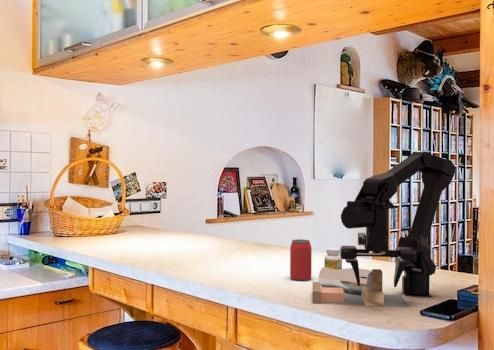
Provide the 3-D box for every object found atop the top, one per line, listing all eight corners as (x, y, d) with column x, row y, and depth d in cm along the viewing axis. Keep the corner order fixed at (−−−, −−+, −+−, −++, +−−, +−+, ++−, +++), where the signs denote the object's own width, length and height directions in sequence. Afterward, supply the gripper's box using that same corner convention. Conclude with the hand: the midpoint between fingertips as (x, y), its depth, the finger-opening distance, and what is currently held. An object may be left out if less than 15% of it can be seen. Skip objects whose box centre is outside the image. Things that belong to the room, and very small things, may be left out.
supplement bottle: (345, 280, 164) (345, 249, 164) (334, 282, 160) (334, 251, 160) (331, 277, 168) (331, 247, 168) (320, 279, 164) (321, 248, 164)
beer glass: (331, 279, 157) (379, 285, 148) (321, 294, 152) (370, 300, 143) (325, 260, 155) (373, 264, 146) (315, 274, 150) (364, 280, 141)
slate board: (401, 296, 144) (401, 284, 144) (409, 308, 132) (409, 294, 132) (312, 293, 147) (312, 281, 147) (312, 304, 135) (313, 291, 135)
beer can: (290, 276, 169) (290, 239, 169) (311, 276, 168) (311, 239, 168) (290, 280, 162) (290, 242, 162) (311, 281, 162) (311, 242, 162)
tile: (342, 297, 141) (342, 287, 141) (344, 303, 135) (344, 293, 135) (320, 296, 142) (320, 287, 142) (320, 302, 136) (320, 292, 136)
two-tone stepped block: (379, 297, 142) (379, 267, 141) (383, 306, 133) (384, 274, 133) (361, 296, 142) (361, 266, 142) (365, 305, 133) (365, 273, 133)
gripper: (408, 223, 144) (407, 280, 144) (339, 222, 146) (338, 278, 146) (416, 228, 133) (416, 290, 133) (341, 227, 135) (341, 287, 135)
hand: (376, 286), depth 137 cm, fingers open, 9 cm apart
